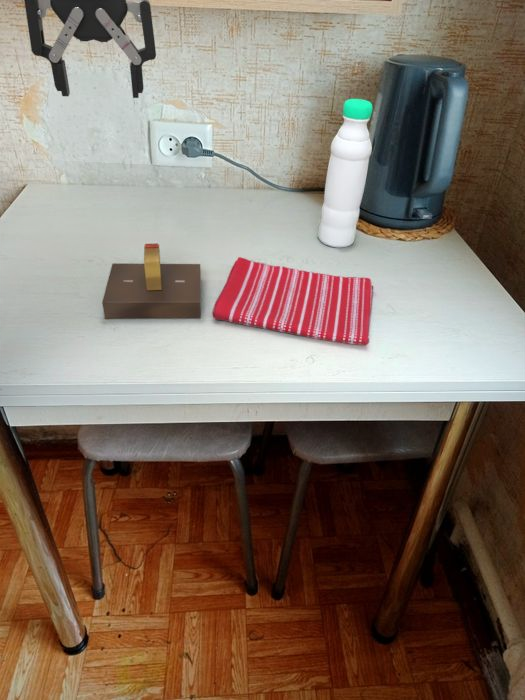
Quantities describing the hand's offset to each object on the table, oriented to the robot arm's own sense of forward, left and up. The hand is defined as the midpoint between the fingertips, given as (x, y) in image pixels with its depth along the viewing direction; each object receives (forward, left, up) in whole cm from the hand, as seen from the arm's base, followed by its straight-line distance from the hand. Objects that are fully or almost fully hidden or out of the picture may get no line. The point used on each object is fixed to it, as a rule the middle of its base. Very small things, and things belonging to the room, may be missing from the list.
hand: (101, 95), depth 65 cm
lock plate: (+5, -4, -28) cm, 29 cm away
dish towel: (+27, -6, -28) cm, 40 cm away
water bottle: (+38, +16, -28) cm, 50 cm away
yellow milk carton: (+5, -4, -25) cm, 26 cm away
